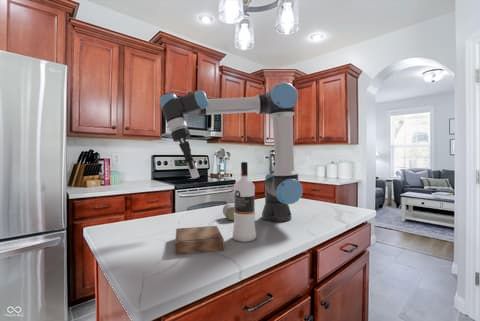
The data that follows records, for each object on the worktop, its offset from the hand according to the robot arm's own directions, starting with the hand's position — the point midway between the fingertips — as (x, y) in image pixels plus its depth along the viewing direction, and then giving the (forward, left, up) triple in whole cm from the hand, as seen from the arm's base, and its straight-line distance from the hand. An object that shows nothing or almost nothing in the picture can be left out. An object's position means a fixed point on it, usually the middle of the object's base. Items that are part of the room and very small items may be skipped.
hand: (196, 177), depth 103 cm
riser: (0, +14, -23) cm, 27 cm away
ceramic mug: (-20, -18, -24) cm, 36 cm away
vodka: (-18, +12, -24) cm, 32 cm away
